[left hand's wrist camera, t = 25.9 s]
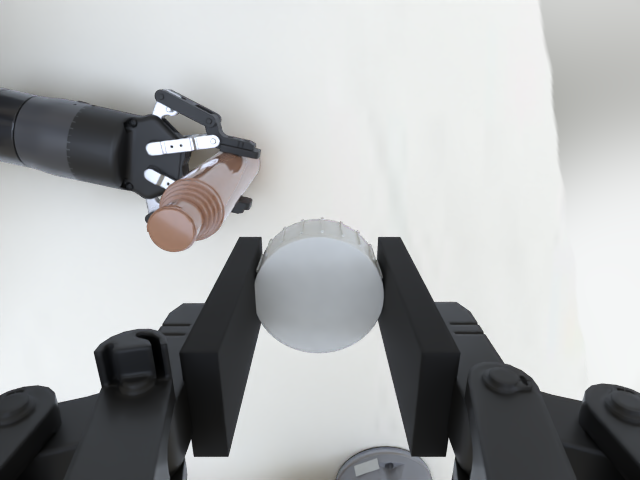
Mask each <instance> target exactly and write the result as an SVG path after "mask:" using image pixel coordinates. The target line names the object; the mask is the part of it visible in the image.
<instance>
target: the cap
mask: <svg viewBox="0 0 640 480" xmlns="http://www.w3.org/2000/svg"><path fill="white" fill-rule="evenodd" d="M256 272H258V273H257V276H256V279H255V298H256V313H257V315H258V318H259V320H260V321H261V323H262V325H263V326H264V327H265V329H266V330H267V331H268V332H269V333H270V334H271V335H272V336H273V337H274V338H275V339H277V340H278V341H280V342H281V343H283V344H285V345H286V346H289V347H291V348H293V349H296V350H300V351H304V352H310V353H328V352H334V351H338V350H341V349H344V348H346V347H349V346H351V345H353V344H354V343H356V342H358V341H359V340H360V339H362V338H363V337H364V336H365V335H366V334H367V333H369V331H370V330H371V329H372V328H373V327H374V325H375V323H376V322H377V320H378V318H379V316H380V314H381V311H382V307H383V302H384V287H383V282H382V278H383V276H382V272H381V269H380V266H379V263H378V260H376V259H375V256H374V253H373V250H372V246H371V244H369V245H368V243H367V242H366V240H365V239H364V238H363V237H362V236H361V235H360V233H359V231H358V230H357V231H355V230H353V229H352V228H350V227H348V226H346V225H344V224H343V222H341V221H340V223H339V222H336V221H331V220H325V219H323V218H321V219H312V220H306V221H304V219H303V220H301V222H298V223H295V224H293V225H291V226H289V227H287V228H286V227H284V228H283V231H281V232H280V233H279V234H278V235H276V236H275V238H274V239H273V240H272V239H270V241H269V244H268V247H267V248H266V250H265V252H264V255H263V254H262V255H261V258H260V261H259V264H258V267H257V270H256Z"/></svg>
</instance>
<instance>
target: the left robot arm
mask: <svg viewBox="0 0 640 480" xmlns="http://www.w3.org/2000/svg"><path fill="white" fill-rule="evenodd" d="M261 255H262V238H261V237H239V239H238V241H237V243H236V245H235V247H234V249H233V251H232V252H231V254H230V256H229V258H228V260H227V262H226V264H225V266H224V268H223V270H222V272H221V273H220V275H219V277H218V279H217V281H216V283H215V285H214V287H213V289H212V291H211V293H210V294H209V296H208V298H207V300H206V302H205V303H183V304H182V305H180V306H179V307H178V308H176V309H175V310H173V311H172V312H170V313H169V315H168V316H167V318H166V319H165V321H164V323H163V325H162V326H161V327H160V329H159V330H158V331H156V330H152V329H136V330H131V331H126V332H122V333H120V334H117V335H115V336H112V337H110V338H109V339H107V340H106V341H104V342H103V343H101V344H100V345H99V346H98V347H97V349H96V350H95V351H94V355H95V360H96V364H97V368H98V373H99V377H100V381H101V386H102V388H101V391H100V393H98V394H95V395H91V396H88V397H83V398H79V399H74V400H69V401H65V402H60V403H58V402H57V399H56V395H55V393H54V392H53V391H52V390H51V389H50V388H49V387H44V386H38V385H37V386H27V387H21V388H17V389H15V390H11V391H8V392H6V393H4V394H2V395H0V480H187V469H186V462H185V455H186V452H187V449H188V446H189V444H190V441H191V440H192V447H193V454H194V457H228V456H229V452H230V448H231V444H232V440H233V436H234V432H235V428H236V423H237V419H238V415H239V411H240V407H241V403H242V399H243V395H244V391H245V387H246V383H247V379H248V374H249V370H250V366H251V362H252V358H253V354H254V350H255V346H256V342H257V338H258V334H259V330H260V325H261V321H260V320H259V318H258V315H257V313H256V298H255V279H256V276H257V273H258V272H256V270H257V267H258V264H259V261H260V258H261ZM377 260H378V263H379V266H380V269H381V272H382V276H383V278H382V282H383V287H384V302H383V307H382V311H381V314H380V316H379V318H378V322H379V327H380V331H381V335H382V339H383V343H384V347H385V351H386V355H387V359H388V363H389V367H390V371H391V376H392V380H393V384H394V388H395V392H396V396H397V400H398V404H399V408H400V412H401V416H402V421H403V425H404V429H405V433H406V437H407V441H408V445H409V449H410V452H409V451H406V450H403V449H399V448H392V447H380V448H373V449H369V450H366V451H363V452H361V453H358V454H356V455H355V456H353V457H351V458H350V459H349V460H348V461H347V462H346V463H345V464H344V465H343V466H342V467H341V469H340V470H339V472H338V475H337V478H336V480H432V478H431V474H430V471H429V469H428V467H427V465H426V464H425V463H424V461H423V460H421V459H420V458H419V457H446V452H447V445H448V438H449V440H450V442H451V445H452V448H453V451H454V453H455V462H454V468H453V475H452V480H640V393H638V392H636V391H634V390H632V389H629V388H625V387H622V386H618V385H612V384H597V385H592V386H590V387H589V388H588V389H587V390H586V391H585V394H584V398H583V401H579V400H574V399H569V398H565V397H560V396H556V395H551V394H548V393H544V392H541V391H540V390H539V388H538V386H537V384H536V383H535V382H534V380H533V379H532V378H531V377H530V376H529V375H527V374H526V373H525V372H523V371H522V370H520V369H517V368H515V367H513V366H511V365H508V364H504V362H503V361H502V359H501V358H500V356H499V355H498V353H497V352H496V350H495V349H494V347H493V346H492V344H491V343H490V341H489V339H488V338H487V336H486V335H485V334H484V333H483V330H482V329H481V327H480V326H479V325H478V324H477V321H476V320H475V318H474V317H473V315H472V314H471V312H470V311H469V310H467V309H466V308H464V307H463V306H461V305H460V304H459V303H457V302H434V301H433V299H432V297H431V295H430V293H429V291H428V289H427V287H426V285H425V284H424V282H423V280H422V278H421V276H420V274H419V272H418V270H417V268H416V266H415V264H414V263H413V261H412V259H411V257H410V255H409V253H408V251H407V249H406V247H405V245H404V243H403V242H402V240H401V238H400V237H378V251H377Z"/></svg>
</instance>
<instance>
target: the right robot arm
mask: <svg viewBox="0 0 640 480" xmlns="http://www.w3.org/2000/svg"><path fill="white" fill-rule="evenodd" d="M155 99H156V101H157V102H156V105H155V107H154V110H153V113H152V114H150V115H146V116H139V115H135V114H130V113H126V112H121V111H117V110H112V109H108V108H103V107H99V106H94V105H90V104H89V103H86V102H82V101H72V100H67V99H60V98H48V97H42V96H37V95H33V94H28V93H24V92H19V91H15V90H10V89H6V88H1V87H0V161H1V162H6V163H11V164H16V165H20V166H25V167H31V168H34V169H38V170H41V171H43V172H46V173H49V174H52V175H56V176H60V177H65V178H70V179H75V180H80V181H84V182H89V183H94V184H99V185H104V186H108V187H113V188H118V189H123V190H129V191H133V192H135V193H137V194H139V195H140V196H141V197H143V198H145V199H146V202H147V207H148V213H149V214H148V215H146V217H145V221H146V223H148V219H149V218H150V216H151V214H152V213H154V212H155V211H156V210H157V209H158V208H159V204H160V200H159V198H158V196H160V195H163V193H164V191H165V190H166V188H167V187H168V186H169V185H170V184H172V183H173V182H175V181H176V180H178V179H179V178H181V177H182V176H184V175H185V174H187V173H188V172H189V167H188V161H189V159H190V156H191V151H194V150H198V149H207V148H219V149H220V152H225V153H230V154H234V155H238V156H243V157H248V158H252V159H258V158H259V157H260V153H261V150H260V149H257V148H255V147H256V144H255V143H254V142H252V141H250V140H245V139H241V138H237V137H232V136H228V135H226V134H224V132H223V131H222V128H221V123H220V122H221V117H220V115H219V114H217V113H215V112H213V111H211V110H210V109H208V108H206V107H204V106H202V105H200V104H198V103H196V102H194V101H192V100H190V99H188V98H186V97H184V96H182V95H181V94H179V93H177V92H175V91H173V90H170V89H168V90H167V89H163V90H158V91H156V93H155ZM179 113H180V114H182V115H184V116H186V117H188V118H190V119H192V120H194V121H196V122H198V123H200V124H202V125H204V126H205V128H206V133H207V134H195V135H186V136H182V135H181V134H180V133H179V132H178V131H177V130H176V129H175V128H174V127H173V126H172V125H171V124H170V123H169V122H168V121H167V120H166V119H165V118H164V117H165V116H166V115H170V116H174V115H177V114H179ZM251 205H252V199H251V198H248V197H243V196H242V197H241V198H240V199H239V201H238V202H237V204H236V205H235V207H234V208H233V209H232V211H231V212H233V213H237V214H238V213H243V212H244V210H249V209H250V207H251Z"/></svg>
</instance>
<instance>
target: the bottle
mask: <svg viewBox="0 0 640 480" xmlns="http://www.w3.org/2000/svg"><path fill="white" fill-rule="evenodd" d="M259 169H260V158H258V159H252V158H248V157H243V156H238V155H234V154H230V153H225V152H220V151H219V152H218V153H216V154H215V155H213V156H212V157H210V158H209V159H207V160H206V161H204V162H203V163H201V164H200V165H198V166H197V167H195V168H194V169H193V170H191V171H190V172H188V173H187V174H185V175H184V176H182V177H181V178H179V179H178V180H176V181H175V182H173V183H172V184H170V185H169V186H168V187H167V188H166V190H165V191H164V193H163V195H162V197H161V199H160V204H159V208H158V209H157V210H156V211H155V212H154V213H152V214H151V216H150V218H149V219H148V223H147V232H149V235H150V237H151V239H152V241H153V242H154V243H155V244H156V245H157V246H158V247H160V248H161V249H163V250H166V251H170V252H179V251H183V250H185V249H188V248H189V247H190V246H191V245H192V244H193V243H194V241H198V240H203V239H205V238H208V237H209V236H211V235H213V234H214V233H215V232H216V231H217V230H218V229H219V228H220V227H221V225H222V224H223V222H224V221H225V220H226V218H227V217H228V215H229V214H230V212H231V211H232V209H233V208H234V207H235V205H236V204H237V202H238V201H239V199H240V198H241V197H242V195H243V194H244V192H245V191H246V189H247V188H248V187H249V185H250V184H251V182H252V181H253V179H254V178H255V176H256V175H257V174H258V172H259Z"/></svg>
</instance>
